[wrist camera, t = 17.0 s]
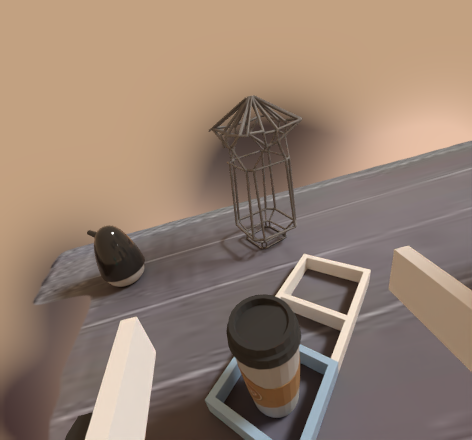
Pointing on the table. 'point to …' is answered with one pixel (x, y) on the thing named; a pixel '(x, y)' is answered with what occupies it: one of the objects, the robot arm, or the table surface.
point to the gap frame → (301, 347)
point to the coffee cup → (267, 352)
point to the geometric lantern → (246, 106)
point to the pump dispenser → (117, 256)
